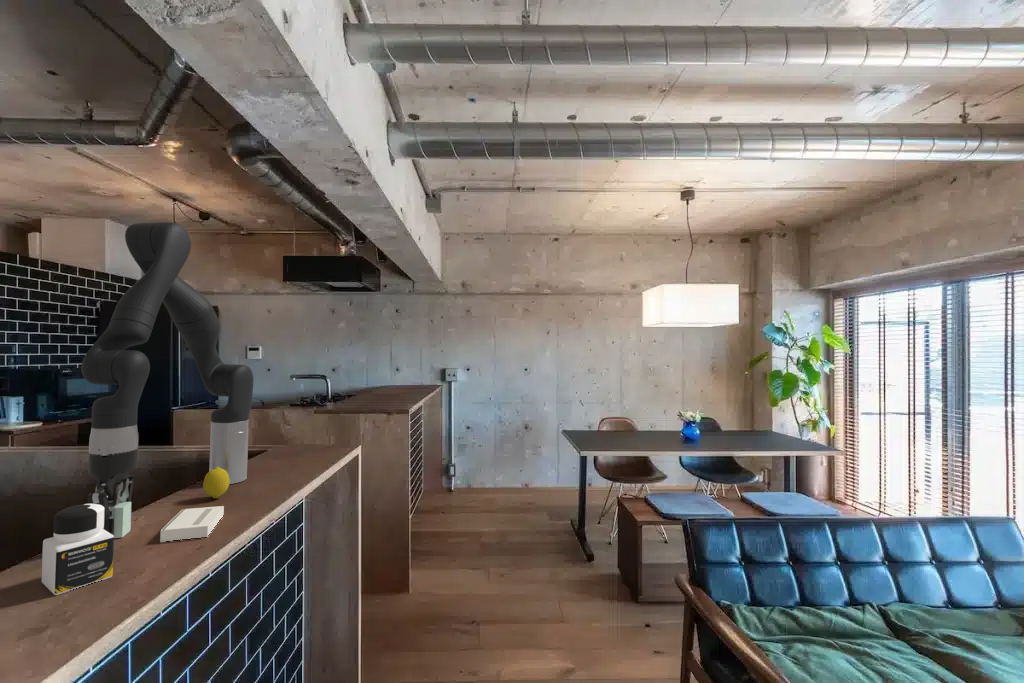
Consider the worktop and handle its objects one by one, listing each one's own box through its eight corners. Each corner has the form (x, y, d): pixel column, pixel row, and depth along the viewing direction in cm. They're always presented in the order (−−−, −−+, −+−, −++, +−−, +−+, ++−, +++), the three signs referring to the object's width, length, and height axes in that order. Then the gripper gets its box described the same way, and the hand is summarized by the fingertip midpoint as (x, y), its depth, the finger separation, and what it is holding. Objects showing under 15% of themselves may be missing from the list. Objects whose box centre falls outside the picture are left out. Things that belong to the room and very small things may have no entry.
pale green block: (100, 533, 93) (101, 503, 93) (130, 530, 94) (131, 501, 95) (90, 540, 89) (91, 509, 90) (122, 537, 91) (123, 507, 91)
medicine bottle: (54, 596, 70) (57, 518, 70) (40, 583, 74) (43, 509, 74) (113, 577, 76) (115, 505, 76) (97, 565, 80) (100, 497, 80)
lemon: (233, 495, 118) (234, 464, 118) (217, 502, 112) (219, 470, 112) (214, 494, 118) (215, 463, 118) (197, 501, 113) (198, 469, 113)
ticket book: (182, 520, 101) (182, 508, 101) (223, 516, 104) (223, 505, 104) (160, 542, 90) (160, 529, 90) (207, 537, 92) (207, 525, 92)
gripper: (109, 442, 98) (106, 522, 97) (70, 457, 84) (66, 551, 84) (151, 440, 100) (148, 518, 100) (119, 455, 87) (116, 546, 87)
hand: (111, 533), depth 92 cm, fingers closed on pale green block, 3 cm apart
